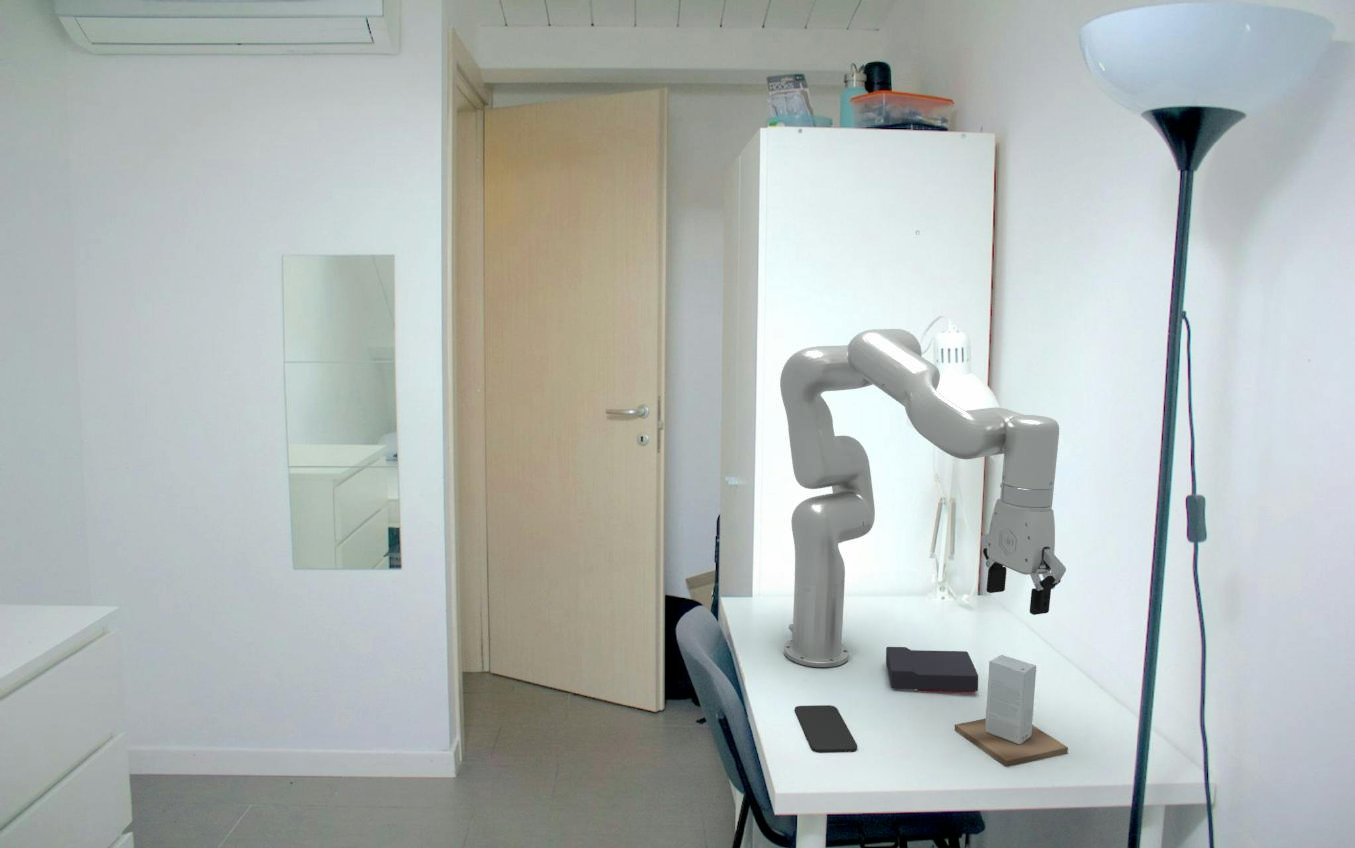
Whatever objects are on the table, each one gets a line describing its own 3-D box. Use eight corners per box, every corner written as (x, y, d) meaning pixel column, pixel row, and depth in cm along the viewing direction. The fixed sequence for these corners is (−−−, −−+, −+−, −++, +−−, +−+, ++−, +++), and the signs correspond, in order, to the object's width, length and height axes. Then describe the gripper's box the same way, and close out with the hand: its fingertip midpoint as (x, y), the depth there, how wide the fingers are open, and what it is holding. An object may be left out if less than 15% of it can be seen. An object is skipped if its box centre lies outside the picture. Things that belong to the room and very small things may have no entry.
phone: (835, 705, 154) (859, 748, 139) (835, 709, 154) (859, 753, 140) (792, 705, 154) (812, 749, 139) (792, 710, 154) (812, 754, 139)
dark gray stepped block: (967, 669, 170) (885, 667, 172) (967, 648, 169) (885, 646, 171) (978, 695, 159) (891, 693, 161) (978, 672, 158) (891, 670, 160)
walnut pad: (954, 730, 147) (954, 724, 147) (1013, 718, 151) (1013, 713, 151) (1005, 767, 136) (1006, 761, 136) (1067, 753, 140) (1068, 747, 140)
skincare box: (1032, 736, 143) (1038, 665, 141) (1019, 746, 140) (1025, 673, 138) (995, 723, 147) (1001, 653, 146) (983, 731, 144) (988, 661, 143)
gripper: (969, 484, 145) (961, 586, 148) (1048, 512, 129) (1037, 625, 132) (1007, 482, 148) (998, 582, 151) (1088, 508, 132) (1077, 619, 135)
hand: (1016, 602), depth 141 cm, fingers open, 9 cm apart
